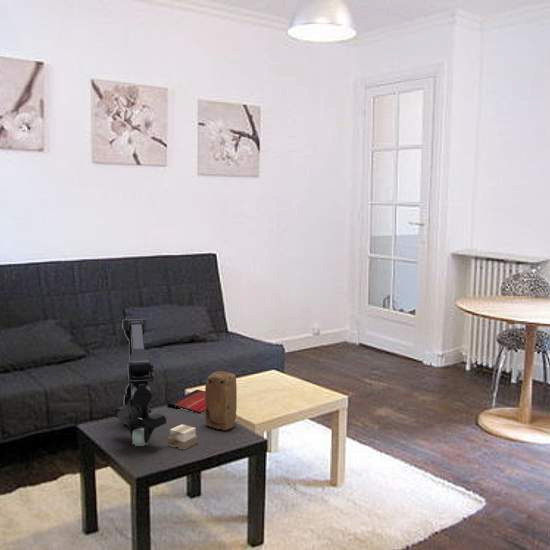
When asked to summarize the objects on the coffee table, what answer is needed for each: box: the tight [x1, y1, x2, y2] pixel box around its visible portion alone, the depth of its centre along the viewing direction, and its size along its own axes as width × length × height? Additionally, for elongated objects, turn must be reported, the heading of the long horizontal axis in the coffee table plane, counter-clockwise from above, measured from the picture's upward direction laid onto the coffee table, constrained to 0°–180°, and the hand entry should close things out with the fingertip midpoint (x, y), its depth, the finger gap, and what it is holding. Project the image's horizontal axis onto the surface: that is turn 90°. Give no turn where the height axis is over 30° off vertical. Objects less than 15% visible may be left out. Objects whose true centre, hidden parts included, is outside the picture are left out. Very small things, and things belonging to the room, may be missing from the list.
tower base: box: [167, 435, 199, 448], centre depth 215 cm, size 7×7×3 cm
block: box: [204, 370, 238, 431], centre depth 230 cm, size 11×8×20 cm
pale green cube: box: [131, 427, 146, 445], centre depth 214 cm, size 5×5×4 cm
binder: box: [166, 389, 206, 414], centre depth 257 cm, size 16×2×21 cm
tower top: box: [169, 423, 197, 442], centre depth 214 cm, size 6×6×3 cm
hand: (140, 440), depth 214 cm, fingers open, 5 cm apart
